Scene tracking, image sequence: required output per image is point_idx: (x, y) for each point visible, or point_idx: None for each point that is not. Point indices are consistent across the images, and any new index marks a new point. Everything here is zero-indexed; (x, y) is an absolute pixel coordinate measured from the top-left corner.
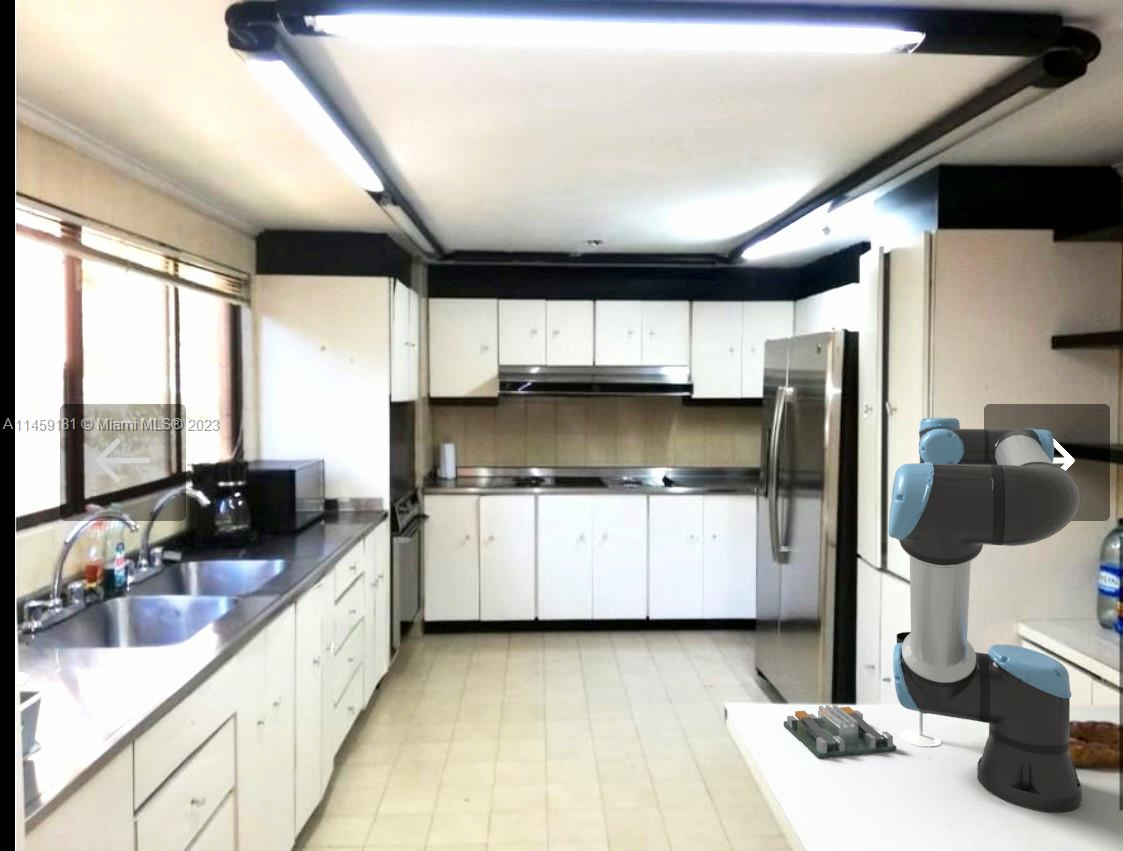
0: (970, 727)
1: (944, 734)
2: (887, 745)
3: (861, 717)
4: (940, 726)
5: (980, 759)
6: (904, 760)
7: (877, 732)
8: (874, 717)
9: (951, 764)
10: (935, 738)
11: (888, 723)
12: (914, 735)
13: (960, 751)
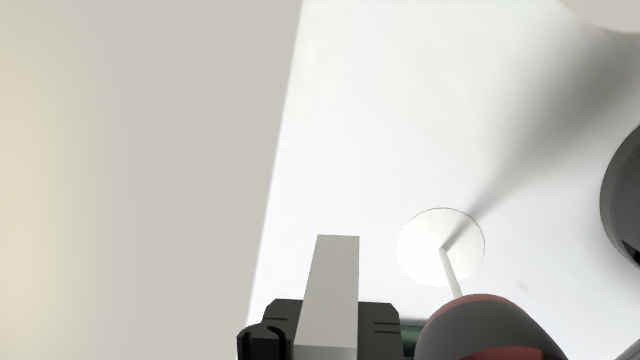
0: (421, 97)
1: (437, 184)
2: None
3: None
4: (398, 164)
5: (632, 255)
6: None
7: (414, 334)
8: None
9: (559, 265)
10: (455, 222)
11: None
12: (437, 262)
13: (518, 208)
